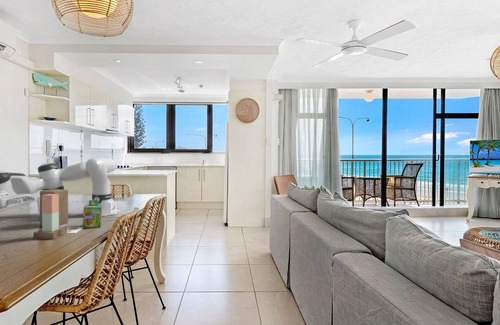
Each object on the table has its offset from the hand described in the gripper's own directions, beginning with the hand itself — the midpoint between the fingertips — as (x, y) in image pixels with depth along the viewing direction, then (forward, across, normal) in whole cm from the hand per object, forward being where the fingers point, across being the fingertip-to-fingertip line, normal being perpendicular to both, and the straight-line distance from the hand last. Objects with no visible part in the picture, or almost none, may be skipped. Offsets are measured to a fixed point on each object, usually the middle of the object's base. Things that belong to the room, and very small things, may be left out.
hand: (27, 200), depth 150 cm
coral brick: (+12, 0, -6) cm, 14 cm away
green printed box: (+21, -22, -18) cm, 35 cm away
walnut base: (+12, 0, -18) cm, 22 cm away
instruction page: (+15, -12, -18) cm, 26 cm away
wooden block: (-3, -24, -18) cm, 30 cm away
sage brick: (+12, 0, -15) cm, 19 cm away
